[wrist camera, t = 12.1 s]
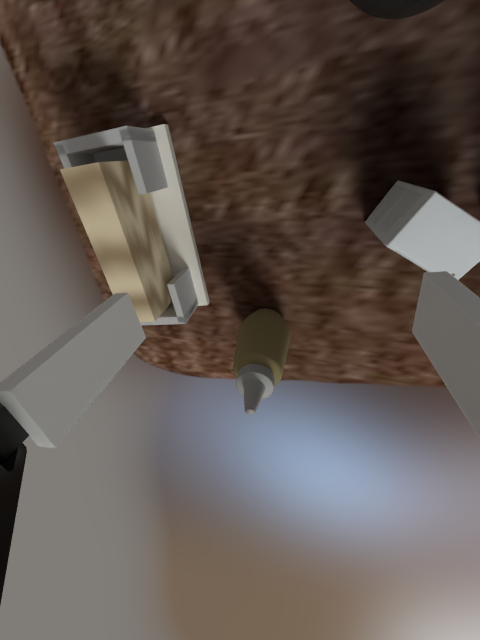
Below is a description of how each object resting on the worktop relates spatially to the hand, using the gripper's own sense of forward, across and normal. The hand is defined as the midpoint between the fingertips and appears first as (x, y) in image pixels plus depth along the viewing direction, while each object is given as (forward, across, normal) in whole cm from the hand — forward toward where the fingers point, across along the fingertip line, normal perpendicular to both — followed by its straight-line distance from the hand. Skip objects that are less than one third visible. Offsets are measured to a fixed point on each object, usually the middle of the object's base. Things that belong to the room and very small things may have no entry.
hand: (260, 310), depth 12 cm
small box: (+27, +14, -3) cm, 31 cm away
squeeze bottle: (+27, -4, -17) cm, 32 cm away
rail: (+24, -19, -1) cm, 31 cm away
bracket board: (+27, -19, -1) cm, 33 cm away
